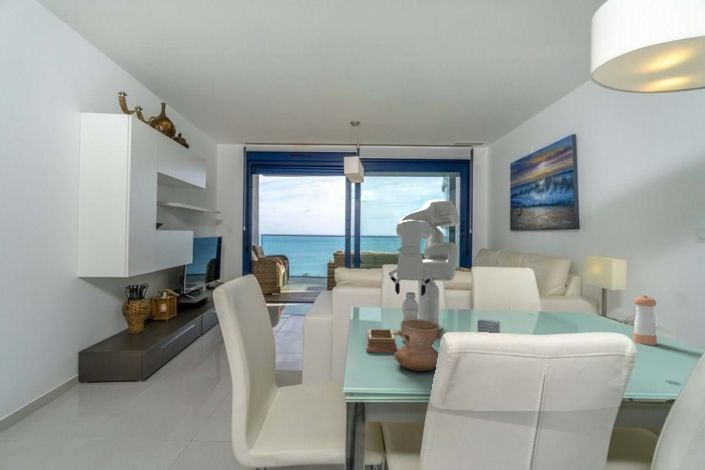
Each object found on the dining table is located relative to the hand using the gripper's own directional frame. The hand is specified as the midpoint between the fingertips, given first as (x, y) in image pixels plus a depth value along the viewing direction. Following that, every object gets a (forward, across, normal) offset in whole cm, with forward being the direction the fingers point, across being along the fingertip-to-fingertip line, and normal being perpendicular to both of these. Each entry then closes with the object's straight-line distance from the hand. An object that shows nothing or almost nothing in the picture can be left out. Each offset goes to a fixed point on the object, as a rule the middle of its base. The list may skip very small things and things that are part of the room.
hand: (410, 294), depth 135 cm
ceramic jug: (+20, +6, -22) cm, 31 cm away
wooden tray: (+20, -11, -4) cm, 23 cm away
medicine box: (+19, +30, +13) cm, 38 cm away
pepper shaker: (+19, +91, +33) cm, 99 cm away
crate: (+19, -10, -8) cm, 23 cm away
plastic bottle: (+20, 0, +1) cm, 20 cm away
